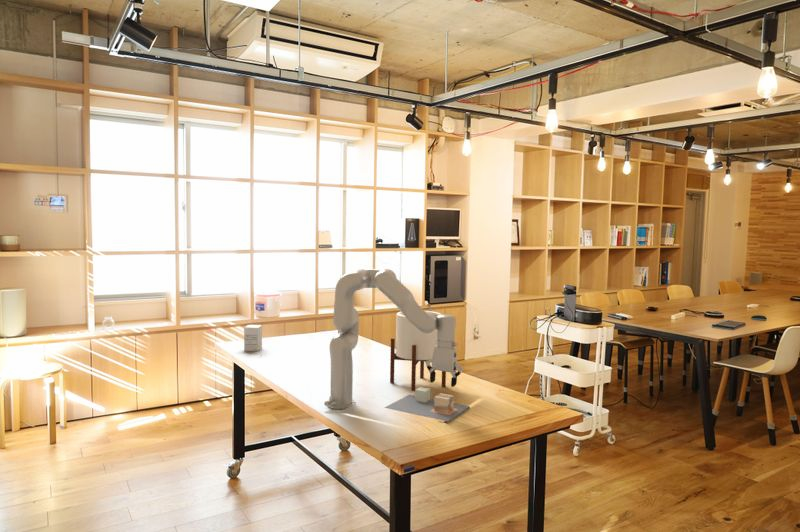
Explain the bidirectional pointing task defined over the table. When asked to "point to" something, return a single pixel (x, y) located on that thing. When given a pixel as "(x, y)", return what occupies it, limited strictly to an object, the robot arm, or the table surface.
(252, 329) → the supplement box
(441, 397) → the maple block
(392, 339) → the plant pot with stand
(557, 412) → the table surface
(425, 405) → the board
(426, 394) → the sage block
